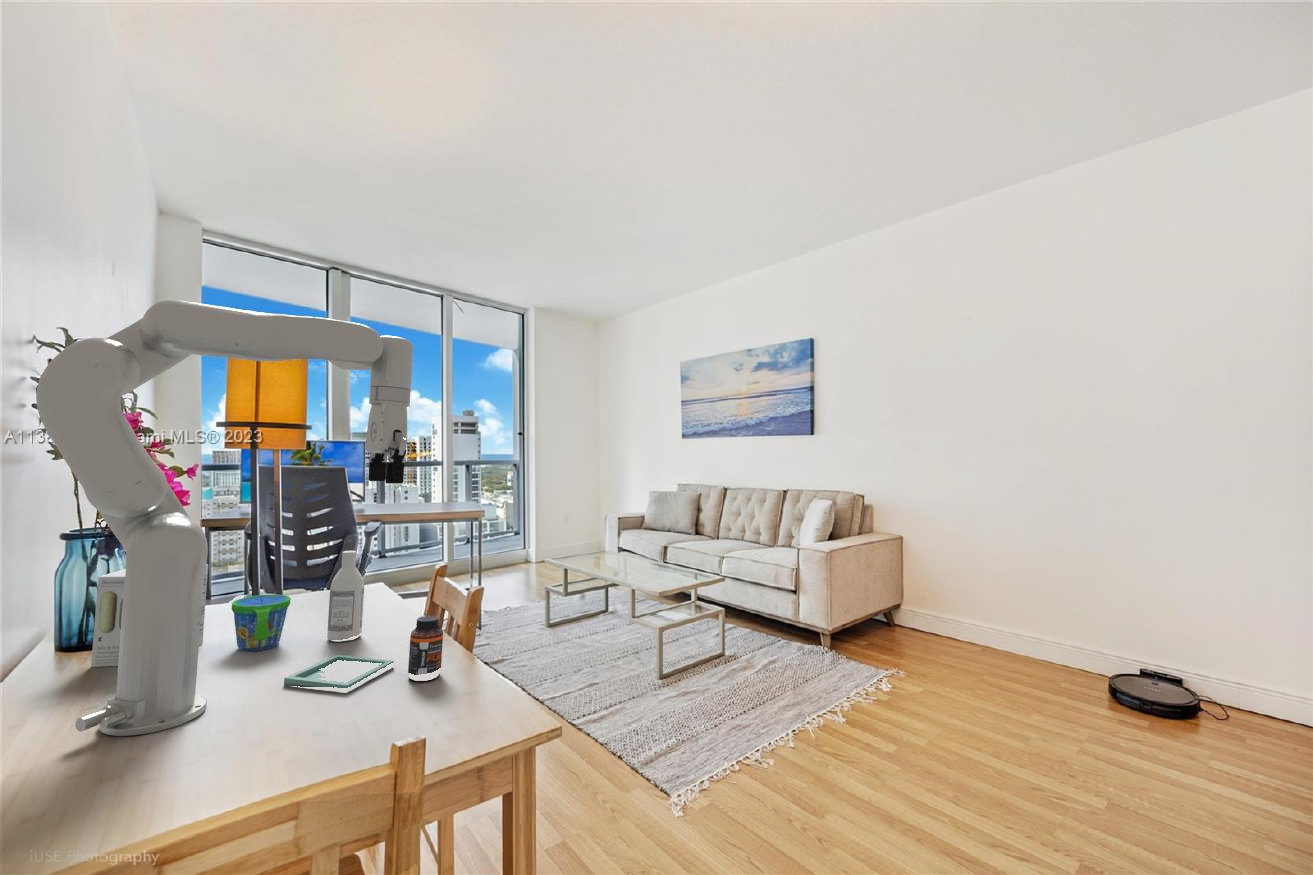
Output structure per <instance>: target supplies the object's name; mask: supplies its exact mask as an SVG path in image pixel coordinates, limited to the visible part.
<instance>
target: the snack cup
mask: <svg viewBox="0 0 1313 875" xmlns="http://www.w3.org/2000/svg"><path fill="white" fill-rule="evenodd" d="M291 600H292V599H291V597H290V596H289V595H285V594H259V595H252V596H246V597H241V598H238V599H236V600H234V601H233V602H232V603H231V611H232V612H233V619H234V620H233V621H234V629H235V639H236V640H235V641H236V645H237V648H238V649H240V651H241V652H245V651H246V652H247V651H248V652H258V651H263V650H267V649H268V650H269V649H271V648H274V647H275V646H278V645H279V643H280V641H281V637H282V633H283V629H284V625H285V621H286V618H287V617H286V616H287V611H288V608H289V607H290V605H291Z"/></svg>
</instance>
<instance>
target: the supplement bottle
mask: <svg viewBox="0 0 1313 875" xmlns="http://www.w3.org/2000/svg"><path fill="white" fill-rule="evenodd" d="M439 620H440V617H438V616H436V615H424V616H419V617H417V619H416V625H415V626H416V627H415V628H414V629H413V630H412V631H411V632H410V638H409V650H408V651H409V653H408V665H407V666H408V669H407V674H408V673H411V674H414V675H419V674H420V675H421V674H427V673H432V672H434V671H436V670H438V669H439V668H441V669H442V663H443V661H442V659H443V657H442V655H443V644H444V643H443V642H444V630H443V629H442V628H441V627H440V625H439V624H440V623H439Z"/></svg>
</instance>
